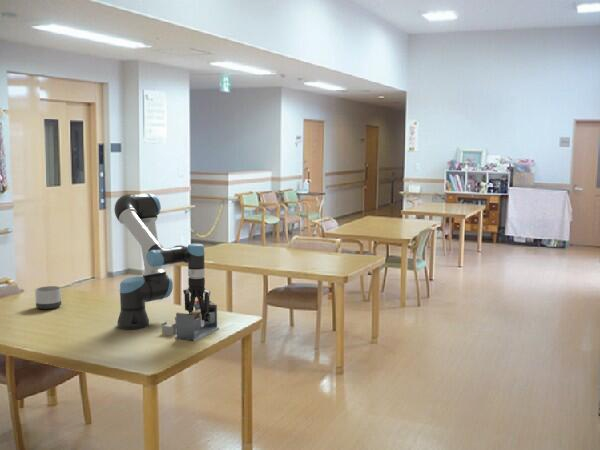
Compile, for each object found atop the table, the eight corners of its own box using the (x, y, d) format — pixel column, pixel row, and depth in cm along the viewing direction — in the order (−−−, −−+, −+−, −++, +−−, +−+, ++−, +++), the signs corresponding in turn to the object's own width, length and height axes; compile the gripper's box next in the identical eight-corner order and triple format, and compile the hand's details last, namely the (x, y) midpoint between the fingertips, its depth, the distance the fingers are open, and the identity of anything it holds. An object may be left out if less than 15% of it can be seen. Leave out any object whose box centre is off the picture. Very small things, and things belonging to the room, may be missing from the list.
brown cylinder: (192, 324, 287) (192, 315, 286) (184, 323, 289) (184, 314, 288) (209, 316, 301) (209, 307, 300) (201, 315, 302) (201, 306, 302)
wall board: (174, 338, 288) (174, 336, 288) (199, 326, 307) (199, 324, 307) (195, 341, 284) (195, 339, 284) (219, 329, 303) (219, 327, 303)
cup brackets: (176, 338, 288) (176, 313, 286) (201, 326, 307) (200, 302, 305) (193, 341, 284) (193, 315, 283) (217, 328, 303) (216, 304, 302)
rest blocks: (161, 333, 295) (161, 323, 294) (178, 326, 308) (178, 315, 307) (173, 335, 292) (173, 324, 292) (189, 327, 305) (189, 317, 305)
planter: (44, 304, 349) (43, 285, 348) (65, 305, 348) (65, 286, 346) (31, 310, 337) (30, 291, 336) (53, 311, 335) (52, 291, 334)
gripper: (176, 277, 292) (177, 326, 295) (208, 280, 285) (209, 330, 288) (185, 274, 299) (185, 321, 302) (217, 277, 292) (217, 326, 295)
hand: (197, 325), depth 295 cm, fingers closed on brown cylinder, 4 cm apart
